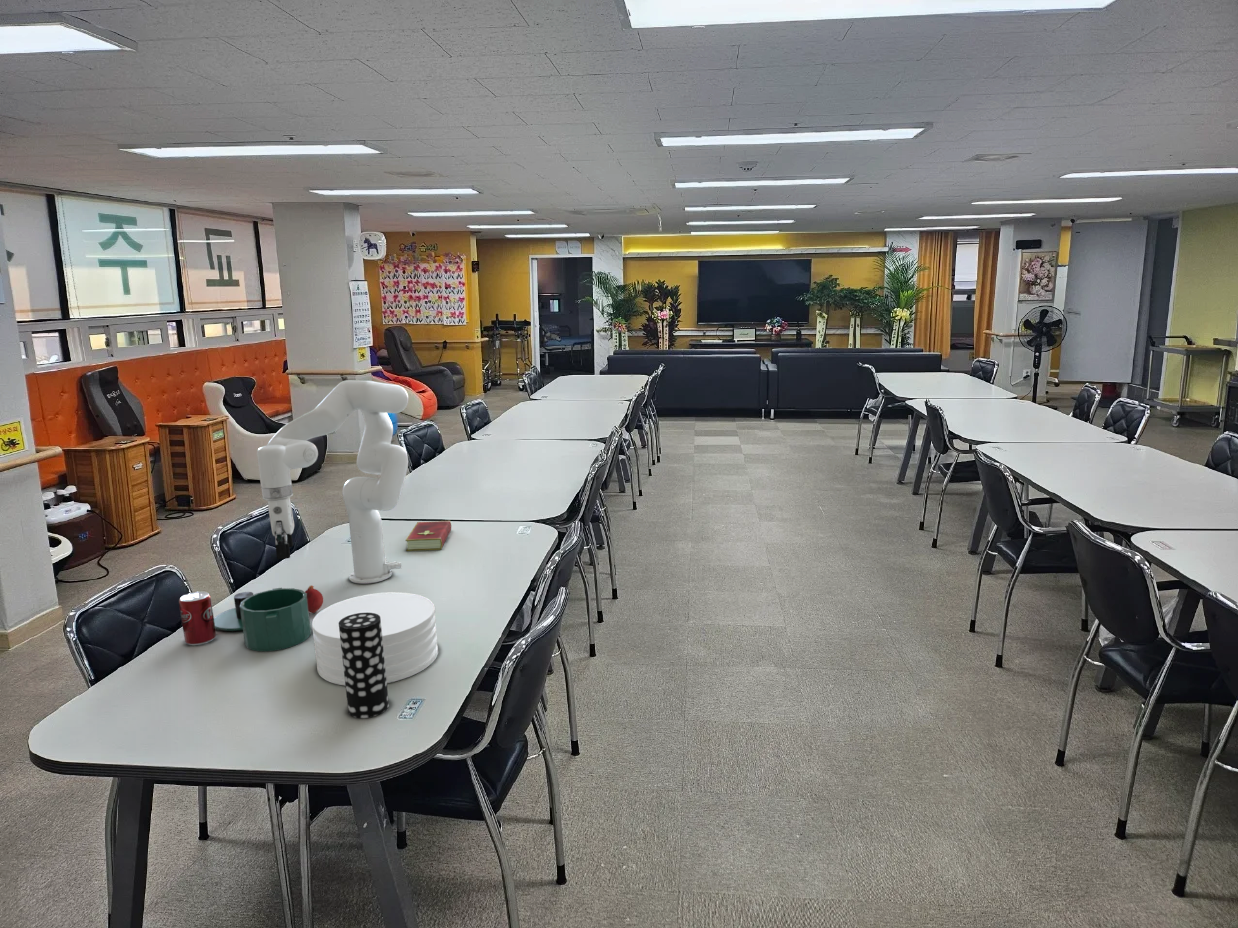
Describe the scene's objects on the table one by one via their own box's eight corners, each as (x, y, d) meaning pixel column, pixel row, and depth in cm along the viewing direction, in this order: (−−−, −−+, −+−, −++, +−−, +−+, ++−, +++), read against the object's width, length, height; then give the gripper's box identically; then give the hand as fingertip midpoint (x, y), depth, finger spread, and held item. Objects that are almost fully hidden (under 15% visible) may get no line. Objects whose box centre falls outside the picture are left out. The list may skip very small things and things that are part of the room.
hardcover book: (451, 531, 298) (450, 519, 297) (442, 549, 278) (441, 537, 277) (418, 532, 298) (417, 521, 297) (406, 551, 277) (405, 539, 276)
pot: (312, 618, 223) (307, 581, 221) (309, 649, 204) (304, 610, 202) (250, 626, 219) (245, 589, 216) (240, 660, 199) (235, 619, 197)
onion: (317, 617, 223) (313, 590, 222) (297, 616, 224) (294, 589, 223) (328, 609, 229) (325, 582, 227) (309, 608, 230) (306, 581, 228)
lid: (282, 604, 234) (279, 580, 232) (277, 626, 218) (274, 601, 216) (217, 613, 229) (213, 588, 227) (208, 636, 213) (204, 610, 211)
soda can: (185, 648, 206) (178, 603, 204) (185, 638, 213) (178, 594, 210) (217, 642, 210) (210, 598, 207) (216, 632, 216) (209, 589, 213)
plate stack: (373, 697, 179) (369, 648, 177) (291, 668, 194) (286, 623, 191) (462, 648, 202) (458, 604, 200) (382, 625, 217) (378, 585, 214)
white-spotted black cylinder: (353, 699, 179) (343, 613, 174) (392, 697, 179) (383, 611, 175) (344, 719, 170) (334, 629, 166) (384, 716, 171) (375, 627, 167)
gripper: (289, 498, 211) (297, 561, 215) (294, 482, 227) (302, 541, 231) (258, 501, 209) (267, 565, 213) (265, 485, 225) (273, 544, 229)
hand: (285, 552), depth 222 cm, fingers open, 9 cm apart
